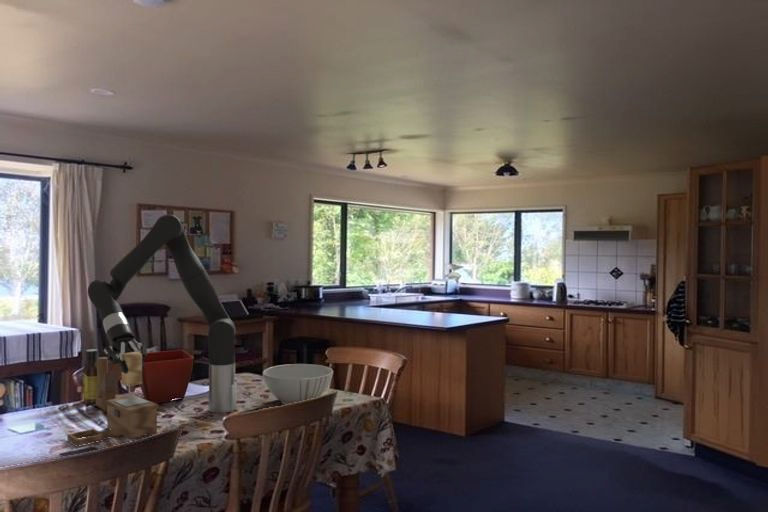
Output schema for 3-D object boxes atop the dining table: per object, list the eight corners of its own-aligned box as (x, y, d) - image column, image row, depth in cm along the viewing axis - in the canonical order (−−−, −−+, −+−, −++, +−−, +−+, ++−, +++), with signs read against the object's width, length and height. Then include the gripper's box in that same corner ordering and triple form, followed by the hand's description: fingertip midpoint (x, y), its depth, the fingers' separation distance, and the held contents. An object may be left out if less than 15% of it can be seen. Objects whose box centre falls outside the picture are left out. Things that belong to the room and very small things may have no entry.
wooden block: (105, 412, 220) (105, 362, 219) (95, 405, 228) (95, 357, 227) (115, 410, 222) (115, 360, 222) (105, 404, 230) (105, 356, 230)
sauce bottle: (86, 399, 236) (86, 348, 236) (103, 399, 237) (103, 348, 236) (79, 404, 230) (79, 351, 229) (97, 403, 230) (97, 351, 230)
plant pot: (141, 407, 226) (141, 362, 225) (133, 396, 242) (133, 353, 242) (194, 401, 236) (194, 357, 235) (182, 390, 252) (183, 349, 251)
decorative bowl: (322, 414, 221) (322, 380, 220) (251, 409, 225) (251, 377, 225) (340, 395, 247) (340, 365, 247) (276, 391, 251) (276, 362, 251)
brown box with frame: (134, 421, 209) (134, 394, 209) (158, 432, 198) (158, 403, 197) (62, 437, 192) (61, 407, 191) (83, 450, 180) (83, 418, 180)
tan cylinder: (135, 381, 202) (135, 351, 202) (142, 384, 199) (141, 353, 199) (121, 384, 199) (121, 353, 199) (128, 386, 196) (128, 355, 196)
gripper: (99, 324, 198) (116, 367, 191) (142, 320, 209) (159, 360, 201) (92, 339, 202) (108, 381, 194) (135, 334, 213) (151, 374, 205)
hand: (134, 370), depth 198 cm, fingers closed on tan cylinder, 4 cm apart
